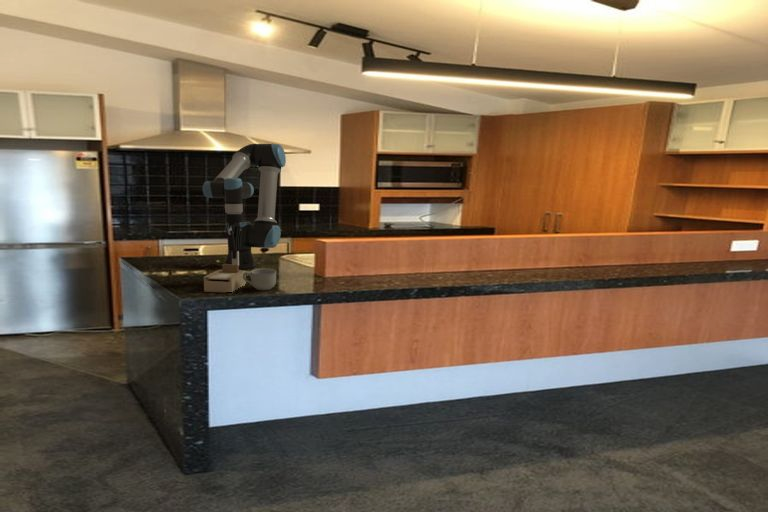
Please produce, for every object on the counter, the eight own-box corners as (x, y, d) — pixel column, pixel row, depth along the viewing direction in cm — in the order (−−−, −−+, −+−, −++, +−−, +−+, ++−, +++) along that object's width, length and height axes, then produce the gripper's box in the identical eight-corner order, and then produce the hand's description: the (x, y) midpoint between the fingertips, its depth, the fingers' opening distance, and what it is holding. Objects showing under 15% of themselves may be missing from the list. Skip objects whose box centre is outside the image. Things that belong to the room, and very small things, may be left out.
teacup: (278, 286, 232) (278, 268, 231) (274, 291, 222) (274, 273, 220) (246, 285, 232) (246, 268, 231) (240, 291, 221) (240, 273, 220)
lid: (221, 272, 234) (220, 263, 233) (242, 273, 233) (242, 264, 232) (207, 278, 220) (207, 269, 220) (229, 279, 219) (229, 270, 219)
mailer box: (220, 283, 236) (219, 269, 235) (246, 284, 235) (245, 270, 234) (204, 291, 220) (203, 276, 219) (231, 292, 219) (231, 277, 218)
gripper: (231, 211, 240) (233, 262, 244) (219, 214, 228) (221, 267, 232) (247, 212, 240) (248, 263, 243) (236, 214, 227) (238, 268, 231)
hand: (235, 265), depth 237 cm, fingers closed
